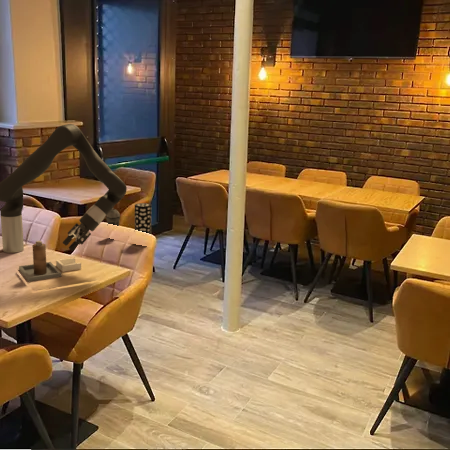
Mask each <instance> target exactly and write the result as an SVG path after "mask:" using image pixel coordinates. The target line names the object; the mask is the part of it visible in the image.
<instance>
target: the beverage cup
mask: <svg viewBox="0 0 450 450" xmlns="http://www.w3.org/2000/svg"><path fill="white" fill-rule="evenodd" d="M105 218H106V223H108V224H113V225H117V226H119V227H120V220H121V214H120V212H119V211H118V209H115V208H114V207H113V208H112V209H111V211H110V212H109V213H108V214H107V215H106V216H105ZM108 224H107V225H108Z"/></svg>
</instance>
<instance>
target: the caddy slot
mask: <svg viewBox="0 0 450 450" xmlns="http://www.w3.org/2000/svg"><path fill="white" fill-rule="evenodd" d="M55 265H56V266H55V267H56V268H57V269H58V270H59V271H60V272H61V273H62V272H70V271H77V270H81V269H82V262H76V258H75V257H68V258H60V259H55Z"/></svg>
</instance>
